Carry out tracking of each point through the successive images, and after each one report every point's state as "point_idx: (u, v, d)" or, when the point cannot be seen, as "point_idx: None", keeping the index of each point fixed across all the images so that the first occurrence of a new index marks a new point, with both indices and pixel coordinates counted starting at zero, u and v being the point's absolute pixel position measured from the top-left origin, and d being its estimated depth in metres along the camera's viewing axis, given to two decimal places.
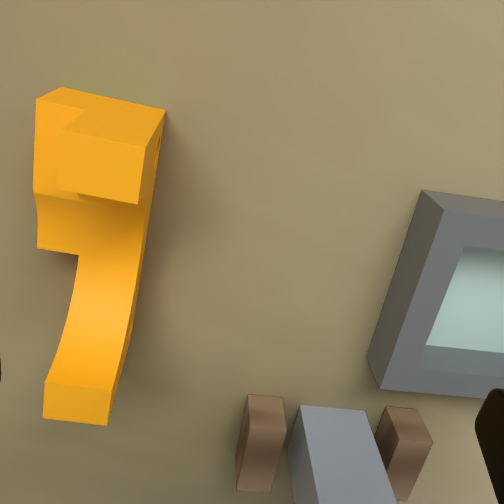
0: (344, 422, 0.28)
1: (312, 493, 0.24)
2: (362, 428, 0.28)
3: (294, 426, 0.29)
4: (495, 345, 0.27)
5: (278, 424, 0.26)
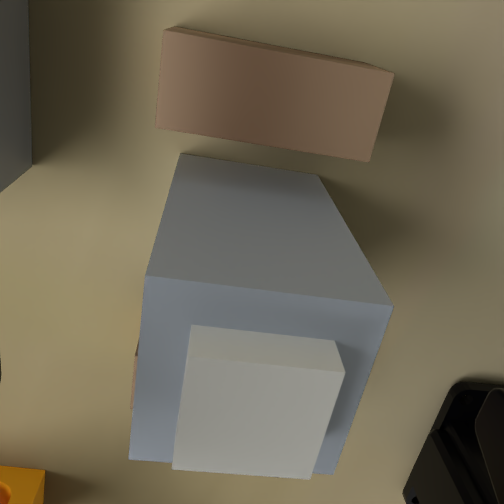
0: None
1: None
2: None
3: None
4: None
5: None
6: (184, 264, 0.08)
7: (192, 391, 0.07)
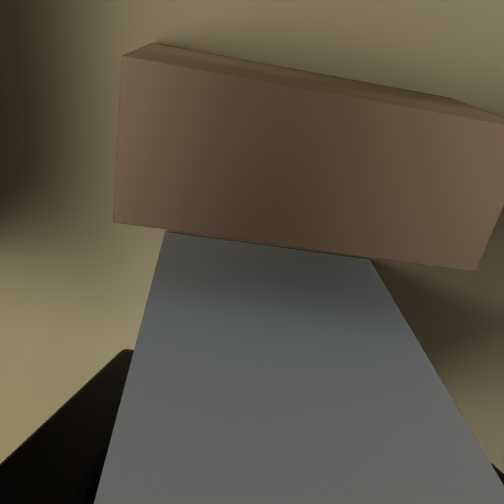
0: None
1: None
2: None
3: None
4: None
5: None
6: None
7: None
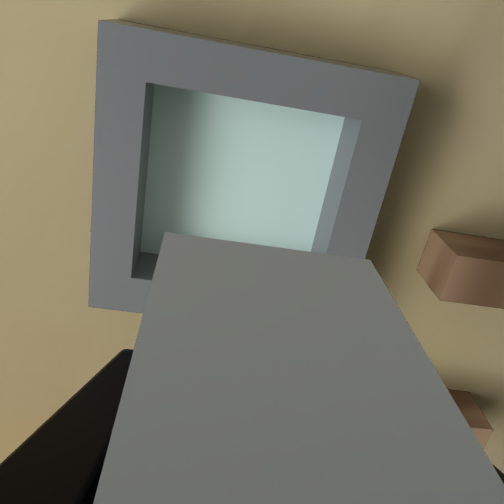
0: None
1: None
2: None
3: None
4: (324, 150, 0.18)
5: None
6: None
7: None
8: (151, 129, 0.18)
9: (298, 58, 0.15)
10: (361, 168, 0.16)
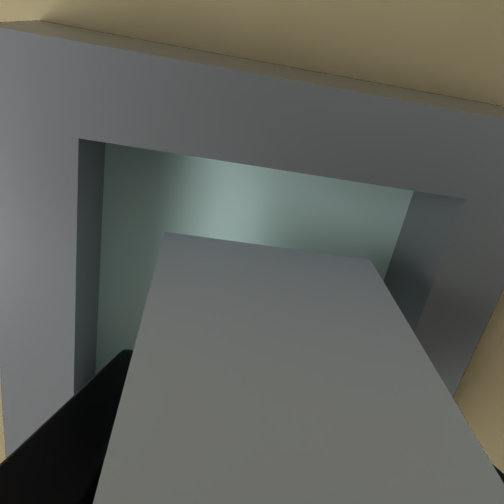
0: None
1: None
2: None
3: None
4: (382, 228, 0.12)
5: None
6: None
7: None
8: (104, 200, 0.11)
9: (361, 94, 0.08)
10: (457, 275, 0.10)
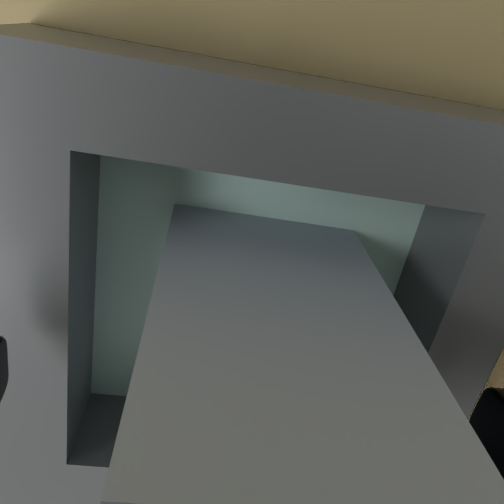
0: None
1: None
2: None
3: None
4: (393, 241, 0.11)
5: None
6: (173, 456, 0.05)
7: None
8: (99, 213, 0.10)
9: (374, 103, 0.07)
10: (474, 294, 0.09)
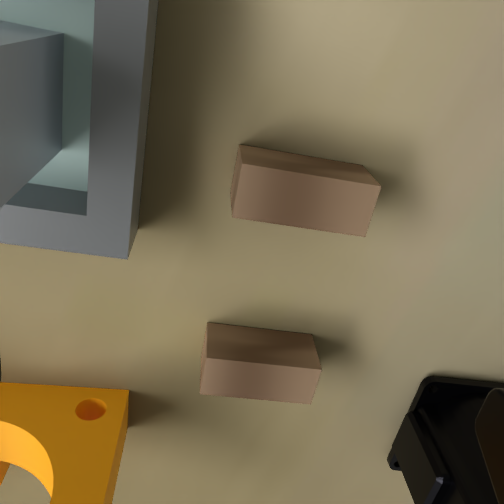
0: None
1: None
2: None
3: None
4: None
5: (205, 359, 0.21)
6: None
7: None
8: None
9: None
10: (107, 52, 0.14)
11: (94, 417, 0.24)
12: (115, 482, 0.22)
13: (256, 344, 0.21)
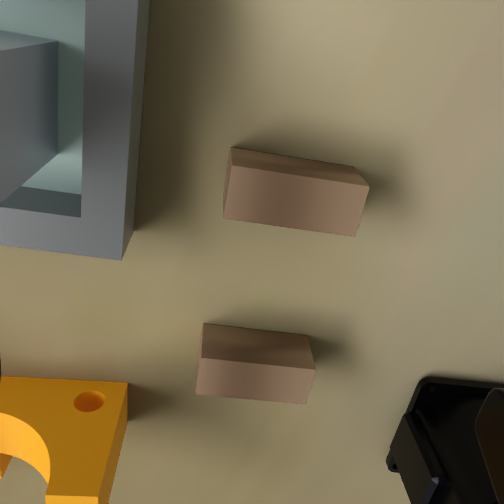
0: None
1: None
2: None
3: None
4: None
5: (200, 359, 0.21)
6: None
7: None
8: None
9: None
10: (98, 58, 0.15)
11: (94, 409, 0.24)
12: (114, 473, 0.22)
13: (251, 345, 0.22)
